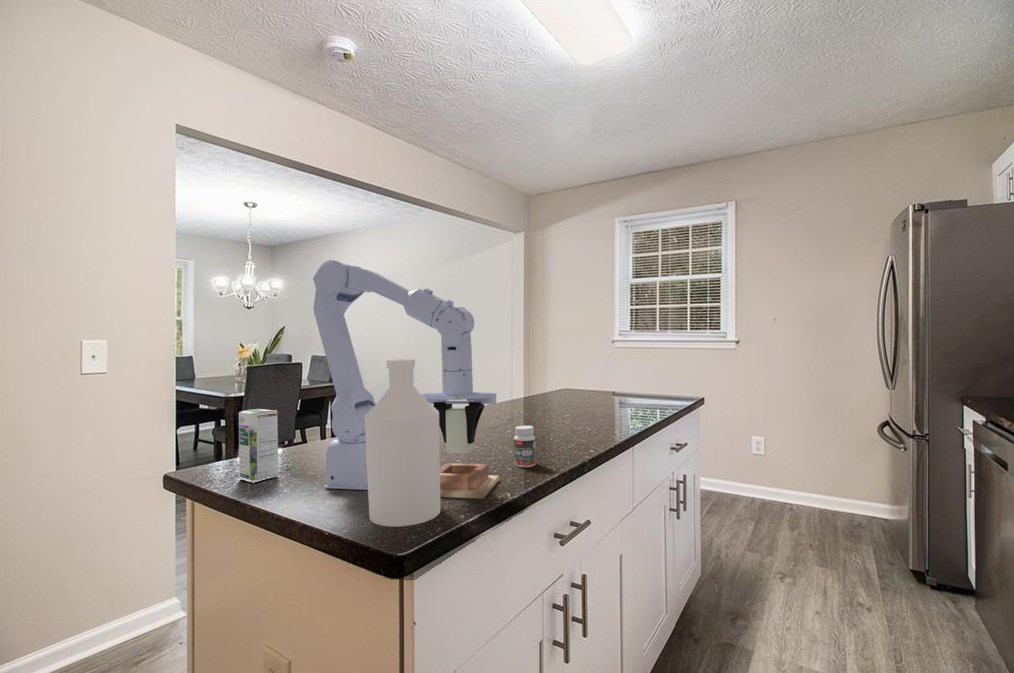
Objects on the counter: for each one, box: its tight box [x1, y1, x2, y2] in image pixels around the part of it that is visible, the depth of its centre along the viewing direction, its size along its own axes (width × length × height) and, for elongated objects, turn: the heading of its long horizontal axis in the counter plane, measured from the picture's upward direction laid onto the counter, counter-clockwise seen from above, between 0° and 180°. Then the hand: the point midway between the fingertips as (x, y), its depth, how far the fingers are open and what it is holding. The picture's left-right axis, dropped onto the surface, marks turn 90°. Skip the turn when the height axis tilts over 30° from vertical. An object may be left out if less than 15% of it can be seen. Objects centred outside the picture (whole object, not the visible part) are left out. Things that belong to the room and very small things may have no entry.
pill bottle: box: [513, 425, 537, 468], centre depth 108 cm, size 5×5×8 cm
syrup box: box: [238, 408, 279, 481], centre depth 103 cm, size 6×6×14 cm
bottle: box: [365, 358, 441, 527], centre depth 80 cm, size 12×12×25 cm
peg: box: [445, 407, 474, 455], centre depth 93 cm, size 4×4×8 cm
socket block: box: [440, 462, 500, 500], centre depth 92 cm, size 12×11×4 cm
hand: (459, 442), depth 92 cm, fingers closed on peg, 4 cm apart
